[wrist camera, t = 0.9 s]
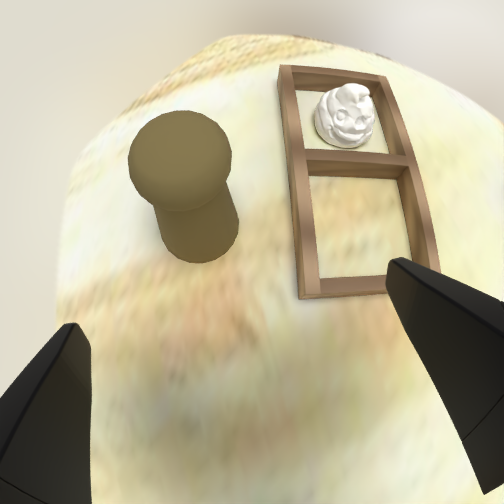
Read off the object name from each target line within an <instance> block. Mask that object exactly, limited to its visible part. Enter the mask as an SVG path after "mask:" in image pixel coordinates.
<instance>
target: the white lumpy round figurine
mask: <svg viewBox="0 0 504 504" xmlns="http://www.w3.org/2000/svg"><path fill="white" fill-rule="evenodd" d="M369 94H370V92H369V90H368V88H366V87H365V86H363V85H359V84H356V83H349V84H345V85H343V86H342V87H339V88H335V89H333V90H331V91H328V92H326V93H325V94H324V95H323V96H322V97H321V99H320V102H319V103H318V105H317V106H316V108H315V126H316V129H317V131H318V133H319V135H320V136H321V137H322V138H323V139H324V140H325V141H326V142H328V143H329V144H332V145H335V146H338V147H342V148H353V147H357V146H359V145H361V144H362V143H364V142H366V141H367V140H368V139H369V138H370V137H371V135H372V132H373V124H374V122H375V115H374V112H373V111H374V110H373V104H372V100H371V98H370V97H369V96H368V95H369Z"/></svg>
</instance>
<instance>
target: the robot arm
mask: <svg viewBox="0 0 504 504" xmlns="http://www.w3.org/2000/svg"><path fill="white" fill-rule="evenodd" d="M385 286H386V290H387V292H388V294H389V296H390V299H391V301H392V303H393V305H394V307H395V310H396V312H397V314H398V316H399V319H400V321H401V323H402V325H403V327H404V329H405V331H406V333H407V335H408V337H409V339H410V341H411V342H412V344H413V346H414V348H415V350H416V351H417V353H418V355H419V357H420V359H421V360H422V362H423V364H424V366H425V368H426V370H427V372H428V374H429V376H430V377H431V379H432V381H433V383H434V385H435V387H436V389H437V391H438V393H439V395H440V397H441V399H442V401H443V403H444V405H445V407H446V409H447V411H448V413H449V415H450V418H451V420H452V422H453V424H454V426H455V428H456V430H457V433H458V435H459V437H460V439H461V441H462V444H463V446H464V449H465V451H466V453H467V456H468V458H469V460H470V463H471V465H472V467H473V470H474V472H475V475H476V477H477V480H478V482H479V485H480V487H481V490H482V492H483V494H484V495H485V494H487V493H489V492H490V491H492V490H494V489H495V488H497V487H499V486H500V485H502V484H504V302H503V301H499V300H498V299H496V298H494V297H492V296H490V295H488V294H485V293H483V292H481V291H479V290H477V289H475V288H472V287H470V286H468V285H466V284H464V283H461V282H459V281H457V280H455V279H452V278H450V277H448V276H446V275H443V274H441V273H439V272H436V271H434V270H432V269H429V268H427V267H425V266H422V265H420V264H418V263H415V262H413V261H411V260H408V259H406V258H403V257H399V258H395V259H392V260H390V261H389V263H388V269H387V275H386V281H385ZM91 403H92V383H91V346H90V343H89V341H88V339H87V338H86V336H85V334H84V333H83V331H82V329H81V328H80V326H79V325H78V324H77V323H67V324H64V325H63V326H62V327H61V328H60V329H59V330H58V331H57V332H56V333H55V334H54V335H53V337H52V338H51V339H50V340H49V341H48V342H47V343H46V344H45V345H44V347H43V348H42V349H41V350H40V351H39V352H38V353H37V354H36V356H35V357H34V358H33V359H32V360H31V361H30V363H29V364H28V365H27V366H26V367H25V368H24V370H23V371H22V372H21V373H20V374H19V376H18V377H17V378H16V379H15V380H14V382H13V383H12V384H11V385H10V387H9V388H8V389H7V390H6V391H5V393H4V394H3V395H2V397H1V398H0V504H92V498H91V477H90V425H91Z"/></svg>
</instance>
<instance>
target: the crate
mask: <svg viewBox="0 0 504 504" xmlns="http://www.w3.org/2000/svg"><path fill="white" fill-rule="evenodd" d="M349 83H356V84H359V85H363V86H365V87H366V88H368V90H369V92H370V94H369V95H368V96H369V97H372V98H373V101H374V104H375V107H376V110H377V113H378V116H379V119H380V122H381V125H382V128H383V132H384V135H385V138H386V142H387V145H388V149H389V152H390V154H383V153H372V152H358V151H343V150H324V149H305V148H304V141H303V135H302V128H301V122H300V116H299V110H298V104H297V98H296V92H295V90H309V91H322V92H328V91H331V90H333V89H335V88H339V87H342V86H343V85H345V84H349ZM277 85H278V92H279V100H280V107H281V115H282V124H283V132H284V141H285V149H286V158H287V168H288V177H289V187H290V197H291V208H292V219H293V230H294V242H295V255H296V268H297V282H298V296H299V299H315V298H331V297H346V296H360V295H373V294H385V293H388V292H387V290H386V286H385V281H386V275H378V276H361V277H342V278H322V279H320V278H319V267H318V256H317V246H316V236H315V226H314V217H313V209H312V200H311V192H310V184H309V177H308V176H341V177H365V178H383V179H397V183H398V187H399V192H400V196H401V201H402V205H403V210H404V215H405V220H406V225H407V230H408V236H409V242H410V248H411V254H412V260H413V262H415V263H418V264H420V265H422V266H425V267H427V268H429V269H432V270H434V271H436V272H439V273H441V269H440V262H439V256H438V250H437V245H436V239H435V234H434V229H433V224H432V220H431V215H430V211H429V206H428V202H427V198H426V194H425V190H424V186H423V182H422V179H421V175H420V171H419V168H418V164H417V161H416V158H415V154H414V151H413V148H412V145H411V142H410V139H409V136H408V133H407V130H406V127H405V124H404V121H403V118H402V116H401V113H400V110H399V108H398V105H397V102H396V100H395V97H394V95H393V92H392V90H391V87H390V85H389V82H388V80H387V78H386V76H380V75H374V74H368V73H362V72H355V71H348V70H340V69H331V68H321V67H310V66H297V65H280V68H279V74H278V80H277Z"/></svg>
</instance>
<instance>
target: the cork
mask: <svg viewBox="0 0 504 504" xmlns="http://www.w3.org/2000/svg"><path fill="white" fill-rule="evenodd" d="M231 158H232V151H231V147H230V144H229V141H228V138H227V136H226V134H225V132H224V131H223V130H222V129H221V127H220V126H219V125H218V124H217V123H216V122H215V121H213V120H211V119H210V118H208V117H206V116H205V115H203V114H201V113H197V112H193V111H173V112H169V113H165V114H162V115H160V116H158V117H156V118H154V119H152V120H151V121H149V122H148V123H147V124H146V125H145V126H144V127H143V128H142V129H140V131H139V132H138V134H137V136H136V137H135V139H134V140H133V142H132V144H131V147H130V151H129V155H128V165H129V174H130V179H131V181H132V182H133V184H134V186H135V188H136V190H137V191H138V193H139V194H140V195H141V196H142V197H143V198H144V199H146V200H147V201H148V202H149V203H151V204H152V205H153V206H154V210H155V214H156V218H157V222H158V225H159V229H160V233H161V236H162V240H163V242H164V244H165V245H166V247H167V249H168V250H169V251H170V252H171V253H172V254H173V255H175V256H176V257H177V258H179V259H181V260H184V261H187V262H189V263H205V262H209V261H212V260H215V259H217V258H218V257H220V256H222V255H223V254H225V253H226V252H227V251H228V250H229V248H230V247H231V246H232V245H233V244H234V241H235V239H236V236H237V234H238V225H239V219H238V216H237V213H236V209H235V206H234V203H233V201H232V198H231V195H230V192H229V189H228V186H227V183H226V180H227V178H228V175H229V173H230V171H231Z"/></svg>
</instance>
